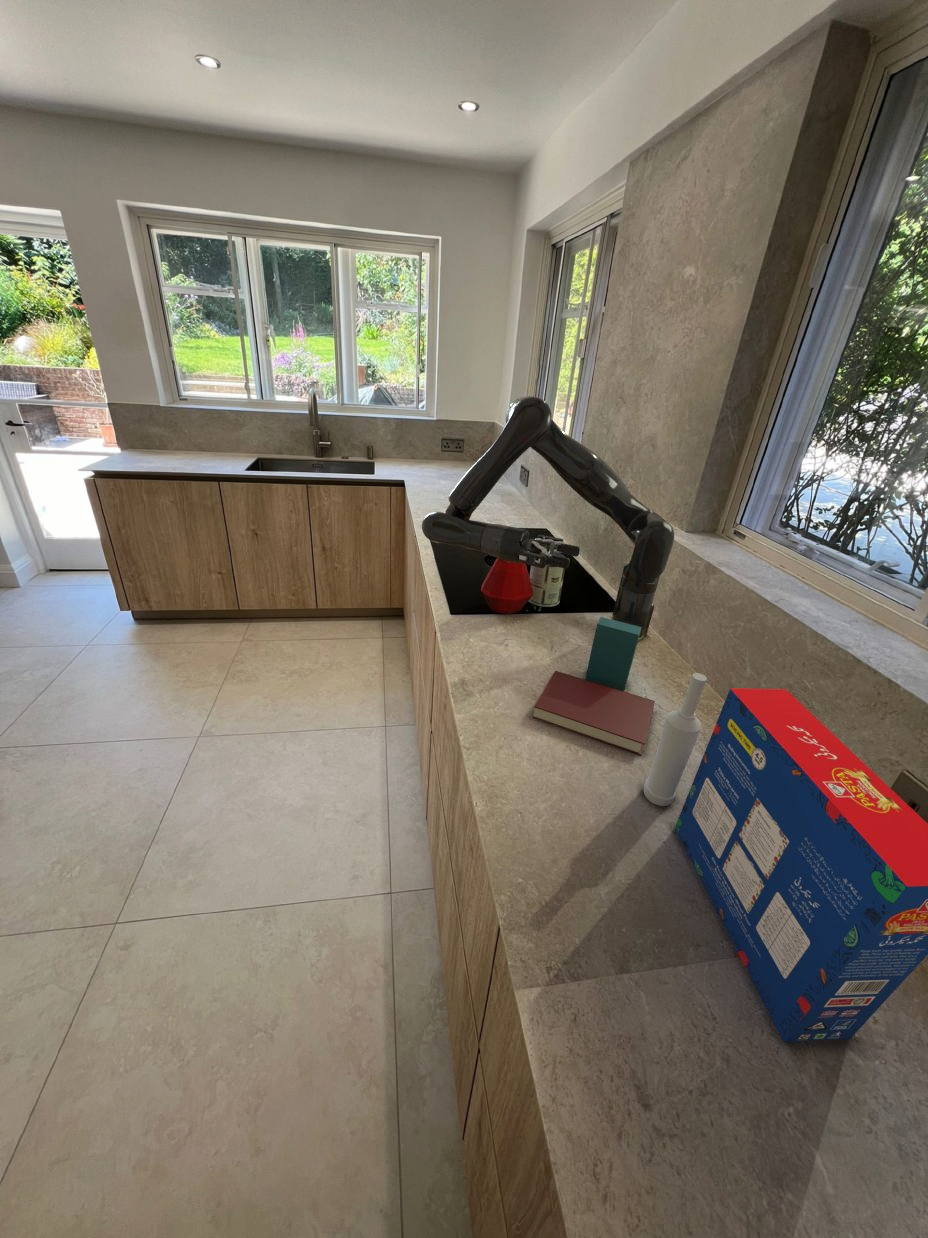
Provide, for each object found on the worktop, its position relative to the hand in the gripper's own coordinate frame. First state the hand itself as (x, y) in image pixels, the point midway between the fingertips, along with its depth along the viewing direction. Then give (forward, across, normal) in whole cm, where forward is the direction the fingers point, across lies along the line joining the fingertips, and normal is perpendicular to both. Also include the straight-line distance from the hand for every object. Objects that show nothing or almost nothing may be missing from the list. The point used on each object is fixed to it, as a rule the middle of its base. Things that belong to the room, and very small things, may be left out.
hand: (574, 557), depth 107 cm
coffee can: (-14, +34, +28) cm, 46 cm away
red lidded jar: (-22, +22, +28) cm, 42 cm away
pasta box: (+41, -46, +28) cm, 68 cm away
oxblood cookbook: (+13, -14, +28) cm, 34 cm away
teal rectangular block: (+12, 0, +28) cm, 31 cm away
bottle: (+28, -30, +28) cm, 50 cm away
